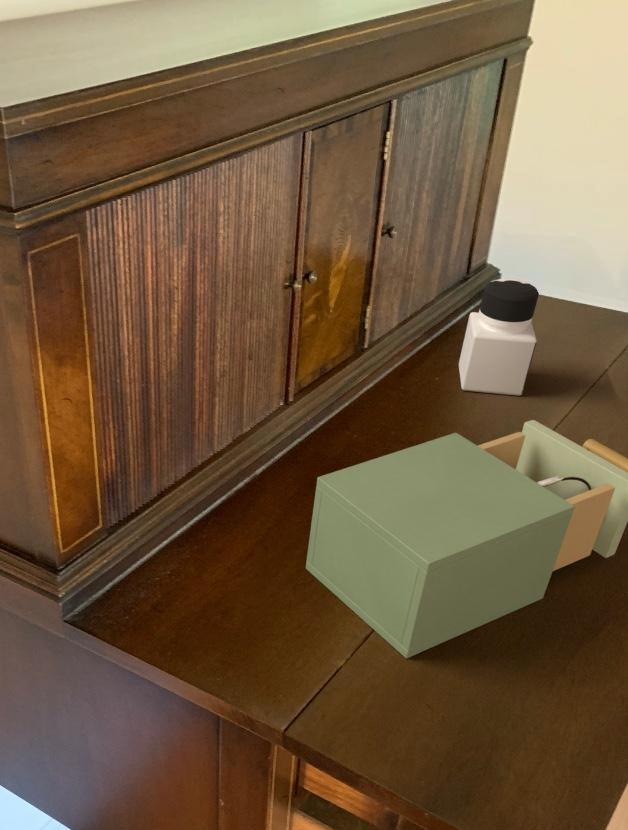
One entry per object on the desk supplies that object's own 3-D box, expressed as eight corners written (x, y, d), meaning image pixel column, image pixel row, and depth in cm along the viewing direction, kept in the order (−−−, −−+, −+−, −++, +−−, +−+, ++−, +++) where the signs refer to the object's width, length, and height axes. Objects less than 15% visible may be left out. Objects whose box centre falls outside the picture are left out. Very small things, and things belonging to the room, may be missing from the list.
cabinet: (435, 520, 89) (456, 432, 83) (543, 598, 80) (575, 506, 74) (305, 568, 83) (317, 477, 77) (406, 659, 74) (429, 563, 68)
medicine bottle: (522, 396, 110) (549, 298, 102) (461, 391, 110) (483, 293, 103) (516, 370, 115) (541, 275, 107) (457, 365, 116) (479, 270, 108)
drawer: (556, 473, 95) (578, 404, 90) (659, 535, 86) (690, 463, 81) (402, 530, 86) (417, 457, 81) (499, 604, 78) (523, 529, 73)
